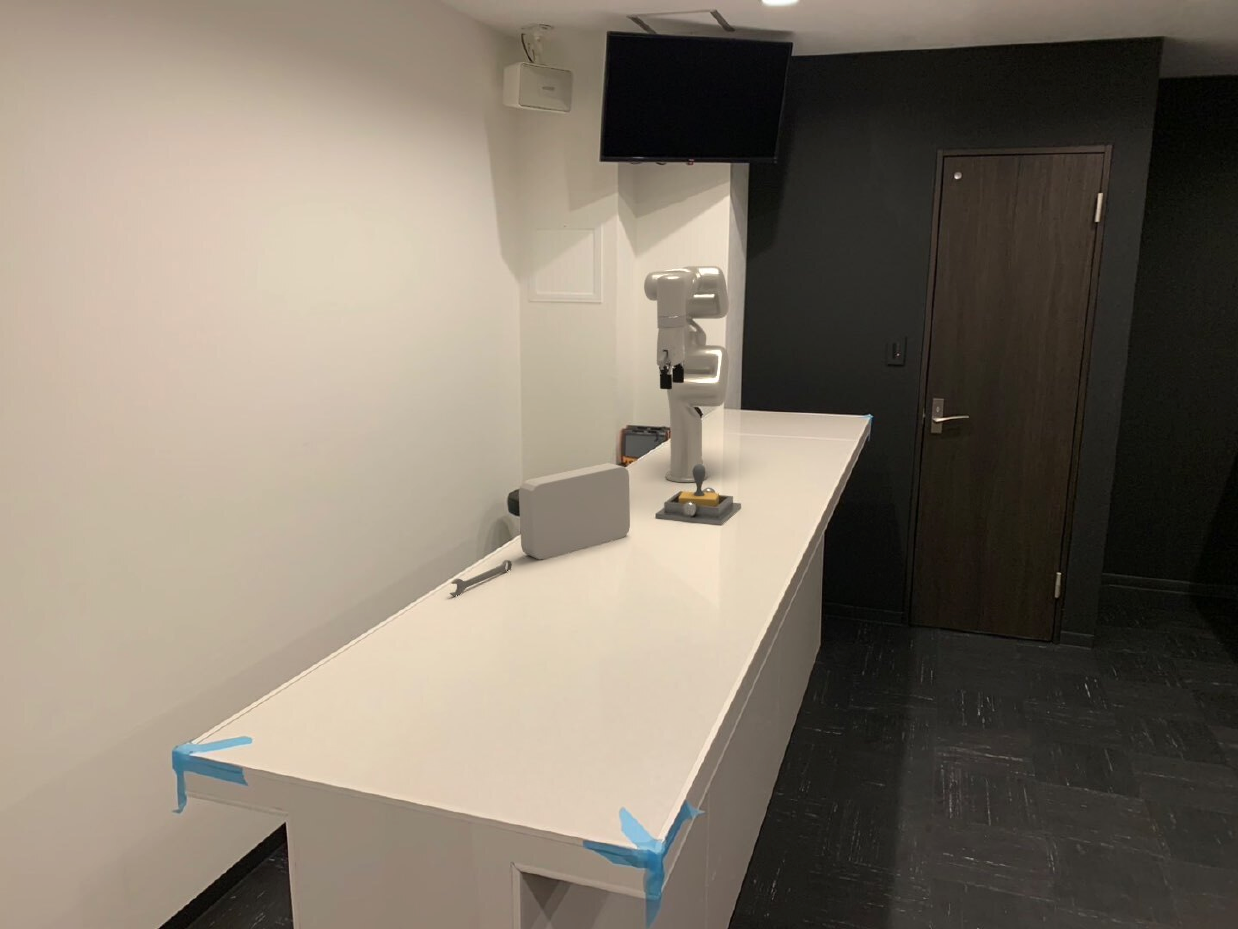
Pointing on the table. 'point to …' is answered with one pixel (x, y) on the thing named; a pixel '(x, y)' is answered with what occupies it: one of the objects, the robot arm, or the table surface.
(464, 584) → the combination wrench
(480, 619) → the table surface
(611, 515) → the grey control panel
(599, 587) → the table surface
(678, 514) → the grey metal square tray
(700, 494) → the rubber stamp
